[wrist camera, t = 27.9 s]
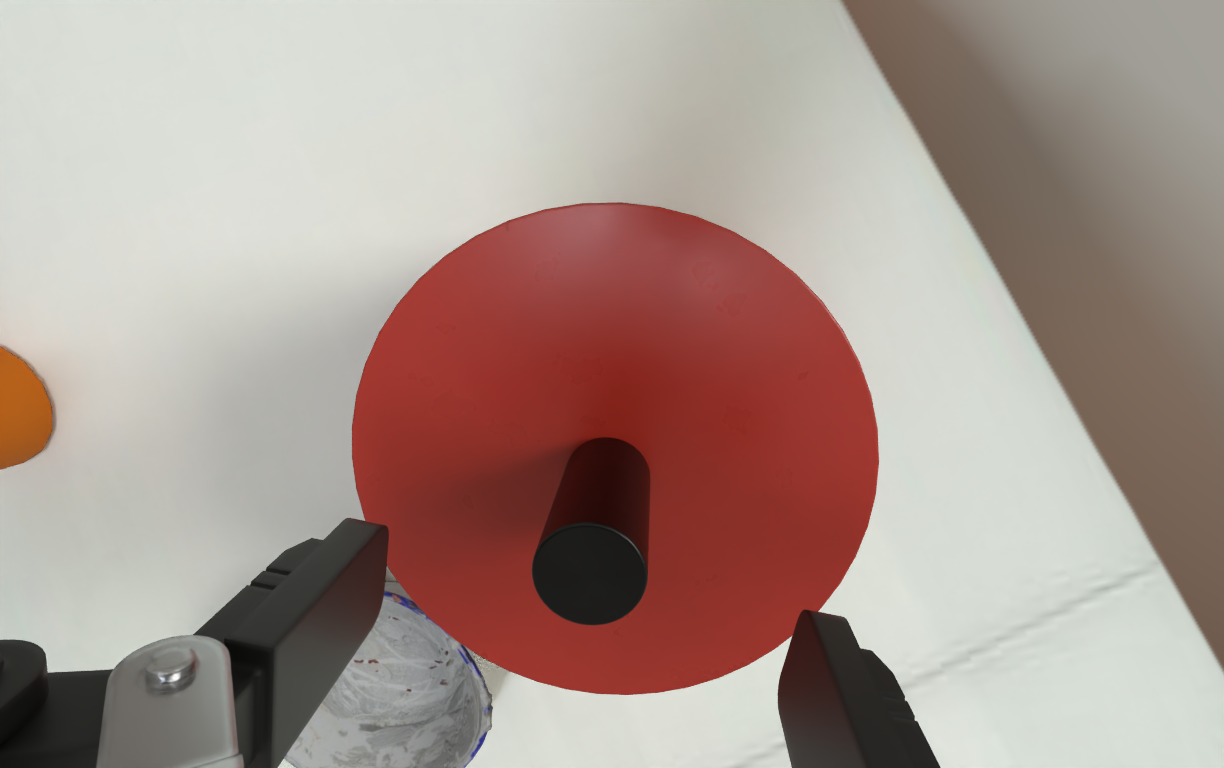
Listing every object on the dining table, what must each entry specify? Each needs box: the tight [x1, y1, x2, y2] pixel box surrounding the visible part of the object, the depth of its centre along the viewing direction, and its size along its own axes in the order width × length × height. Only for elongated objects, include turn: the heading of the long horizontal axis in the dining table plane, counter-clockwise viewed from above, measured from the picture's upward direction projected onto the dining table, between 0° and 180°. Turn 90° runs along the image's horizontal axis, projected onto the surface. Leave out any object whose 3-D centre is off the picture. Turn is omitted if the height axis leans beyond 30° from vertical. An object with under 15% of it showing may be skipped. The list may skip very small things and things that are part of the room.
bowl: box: [284, 582, 493, 768], centre depth 34 cm, size 13×13×5 cm
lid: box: [352, 203, 879, 695], centre depth 16 cm, size 15×15×6 cm
